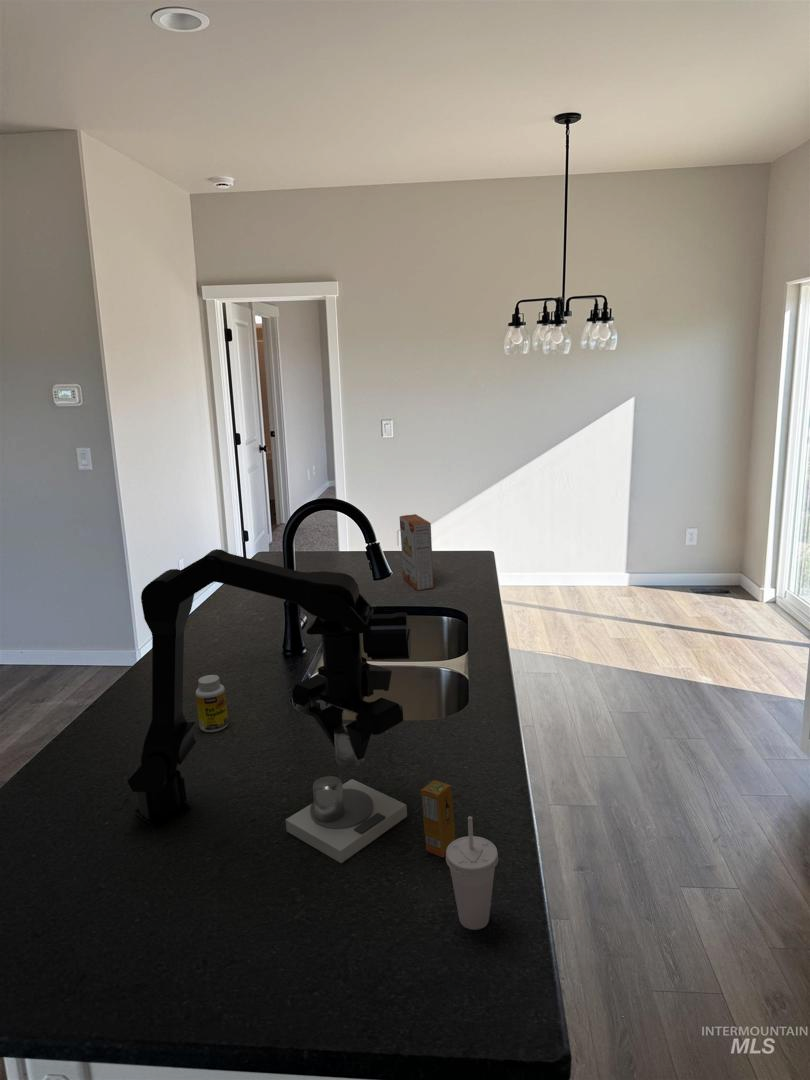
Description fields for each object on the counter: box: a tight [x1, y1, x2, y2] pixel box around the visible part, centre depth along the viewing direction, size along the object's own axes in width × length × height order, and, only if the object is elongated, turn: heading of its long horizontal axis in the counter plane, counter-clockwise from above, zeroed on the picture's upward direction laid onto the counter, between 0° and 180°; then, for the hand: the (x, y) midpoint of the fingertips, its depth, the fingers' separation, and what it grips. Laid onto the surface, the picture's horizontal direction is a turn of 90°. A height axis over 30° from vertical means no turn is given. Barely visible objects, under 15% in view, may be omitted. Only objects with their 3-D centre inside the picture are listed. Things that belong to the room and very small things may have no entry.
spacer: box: [312, 775, 344, 823], centre depth 112 cm, size 4×4×5 cm
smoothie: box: [445, 815, 499, 931], centre depth 92 cm, size 6×6×14 cm
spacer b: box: [334, 722, 366, 768], centre depth 114 cm, size 4×4×5 cm
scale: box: [285, 778, 408, 864], centre depth 114 cm, size 14×12×3 cm
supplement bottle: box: [195, 674, 229, 733], centre depth 146 cm, size 6×6×10 cm
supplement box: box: [420, 779, 457, 859], centre depth 106 cm, size 3×3×10 cm
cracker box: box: [399, 513, 435, 591], centre depth 231 cm, size 14×6×21 cm, turn 17°
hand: (349, 753), depth 115 cm, fingers closed on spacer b, 4 cm apart
